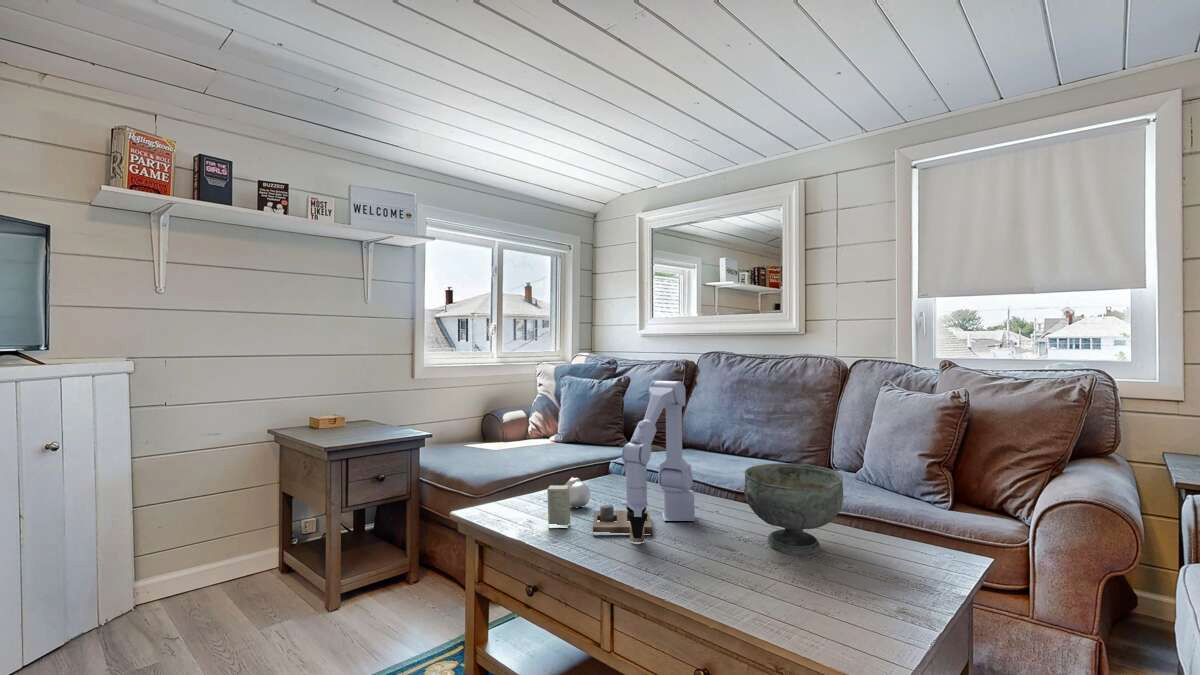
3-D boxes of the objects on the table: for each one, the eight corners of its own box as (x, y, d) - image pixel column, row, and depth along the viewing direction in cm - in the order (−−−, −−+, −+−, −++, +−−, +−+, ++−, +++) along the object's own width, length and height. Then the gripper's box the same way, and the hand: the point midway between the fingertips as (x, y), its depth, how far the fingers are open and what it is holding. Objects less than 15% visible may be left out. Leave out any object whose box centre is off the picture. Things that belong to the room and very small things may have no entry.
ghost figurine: (578, 502, 199) (578, 473, 199) (595, 508, 192) (595, 478, 192) (557, 507, 193) (557, 477, 193) (574, 513, 186) (574, 482, 186)
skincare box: (570, 524, 174) (570, 485, 174) (568, 529, 170) (567, 488, 170) (550, 524, 175) (549, 484, 175) (547, 529, 171) (547, 488, 171)
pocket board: (648, 518, 180) (648, 499, 180) (652, 535, 164) (651, 514, 164) (594, 518, 180) (594, 499, 180) (592, 535, 164) (592, 515, 164)
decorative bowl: (856, 569, 138) (855, 486, 139) (747, 562, 144) (746, 482, 144) (834, 533, 164) (833, 463, 165) (742, 528, 170) (741, 460, 170)
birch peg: (643, 539, 161) (643, 518, 161) (644, 544, 157) (644, 522, 157) (629, 539, 161) (629, 518, 161) (630, 544, 157) (629, 522, 157)
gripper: (621, 479, 166) (622, 526, 166) (622, 493, 152) (623, 544, 152) (646, 479, 166) (646, 526, 166) (649, 493, 152) (649, 544, 152)
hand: (637, 535), depth 159 cm, fingers open, 4 cm apart
